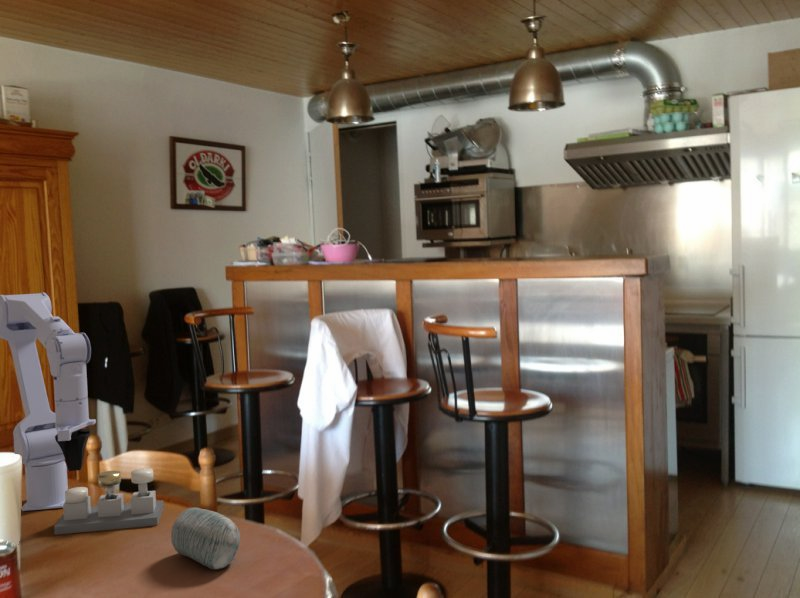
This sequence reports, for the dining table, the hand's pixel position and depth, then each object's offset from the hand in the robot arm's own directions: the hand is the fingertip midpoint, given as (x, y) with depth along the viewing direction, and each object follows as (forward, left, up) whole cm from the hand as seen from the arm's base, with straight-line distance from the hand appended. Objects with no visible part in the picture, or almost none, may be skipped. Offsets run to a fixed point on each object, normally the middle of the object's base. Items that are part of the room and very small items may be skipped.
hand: (75, 469), depth 143 cm
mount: (0, +6, -10) cm, 12 cm away
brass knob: (0, +6, -6) cm, 9 cm away
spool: (+24, +25, -11) cm, 36 cm away
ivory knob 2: (0, +12, -6) cm, 13 cm away
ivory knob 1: (0, 0, -9) cm, 9 cm away
